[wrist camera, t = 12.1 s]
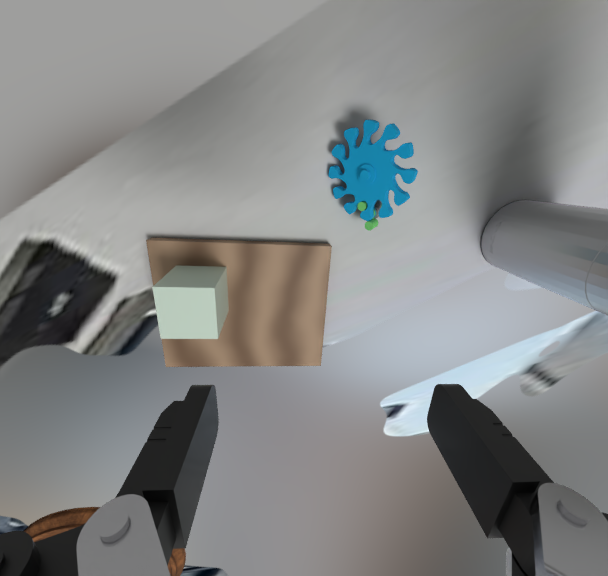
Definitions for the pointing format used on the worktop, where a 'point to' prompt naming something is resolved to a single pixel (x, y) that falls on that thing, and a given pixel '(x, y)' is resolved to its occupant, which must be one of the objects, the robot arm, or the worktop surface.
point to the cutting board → (78, 517)
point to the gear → (371, 172)
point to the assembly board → (254, 301)
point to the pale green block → (192, 302)
